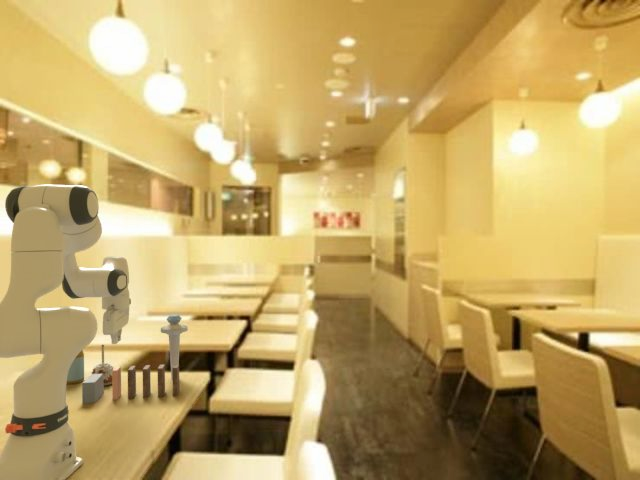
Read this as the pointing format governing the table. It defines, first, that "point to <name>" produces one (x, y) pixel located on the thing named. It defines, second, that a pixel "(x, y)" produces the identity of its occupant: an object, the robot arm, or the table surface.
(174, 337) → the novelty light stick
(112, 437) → the table surface
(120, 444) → the table surface
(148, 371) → the domino
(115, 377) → the domino
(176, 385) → the domino
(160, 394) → the domino
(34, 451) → the robot arm
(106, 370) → the decorative ornament
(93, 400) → the end block
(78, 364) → the bottle
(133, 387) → the domino
